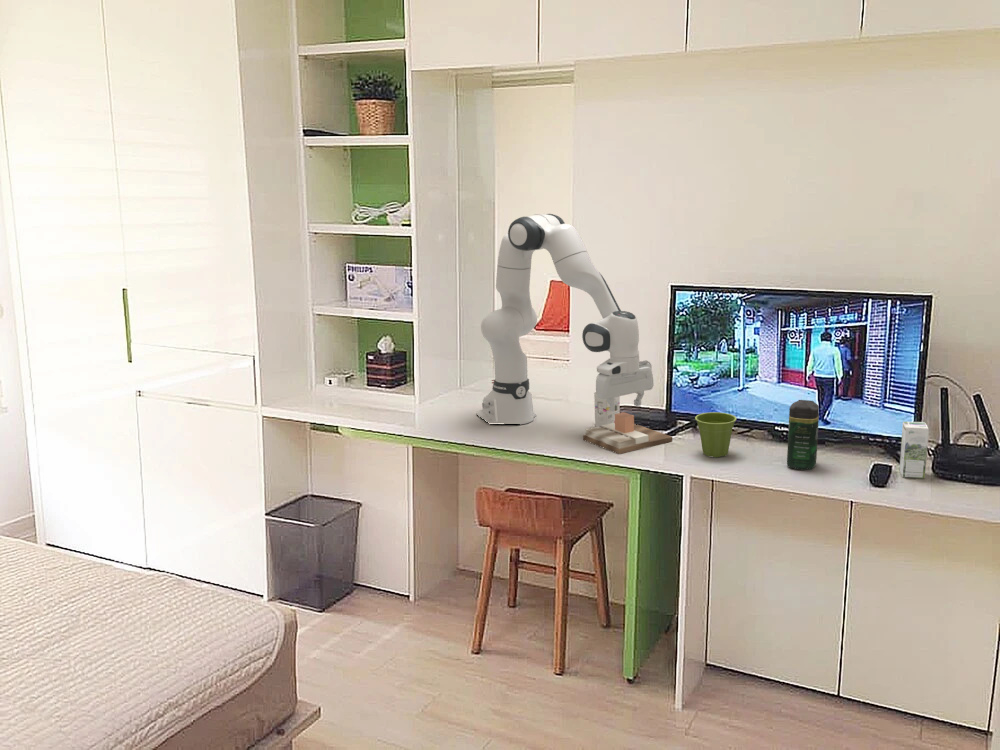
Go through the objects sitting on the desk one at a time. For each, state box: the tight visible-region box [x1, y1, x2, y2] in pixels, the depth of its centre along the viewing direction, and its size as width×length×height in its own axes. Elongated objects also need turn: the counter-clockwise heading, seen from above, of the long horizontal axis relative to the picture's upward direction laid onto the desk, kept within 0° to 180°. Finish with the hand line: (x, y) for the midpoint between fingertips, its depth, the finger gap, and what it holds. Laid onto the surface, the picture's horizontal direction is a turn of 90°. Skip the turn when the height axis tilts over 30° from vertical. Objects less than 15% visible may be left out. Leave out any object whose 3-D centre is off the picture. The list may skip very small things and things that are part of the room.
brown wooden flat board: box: [582, 423, 673, 455], centre depth 293 cm, size 18×21×4 cm
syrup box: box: [899, 421, 930, 479], centre depth 253 cm, size 6×6×14 cm
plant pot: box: [694, 411, 738, 458], centre depth 276 cm, size 12×12×11 cm
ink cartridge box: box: [593, 391, 621, 427], centre depth 310 cm, size 9×5×15 cm, turn 143°
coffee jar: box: [786, 399, 820, 471], centre depth 263 cm, size 10×8×19 cm
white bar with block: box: [602, 411, 648, 444], centre depth 292 cm, size 17×5×7 cm, turn 31°
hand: (625, 408), depth 290 cm, fingers open, 8 cm apart
